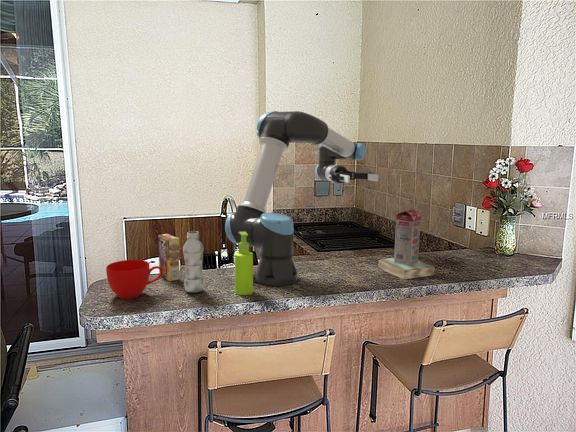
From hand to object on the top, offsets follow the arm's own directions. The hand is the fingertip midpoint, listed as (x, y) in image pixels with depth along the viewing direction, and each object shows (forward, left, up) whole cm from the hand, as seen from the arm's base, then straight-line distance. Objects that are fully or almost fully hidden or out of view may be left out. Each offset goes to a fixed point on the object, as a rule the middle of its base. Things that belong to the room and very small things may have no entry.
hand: (363, 178), depth 185 cm
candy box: (-77, +5, -34) cm, 84 cm away
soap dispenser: (-57, -19, -34) cm, 69 cm away
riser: (+8, -20, -34) cm, 40 cm away
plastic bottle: (-72, -13, -34) cm, 81 cm away
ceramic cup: (-90, -9, -34) cm, 97 cm away
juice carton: (+8, -20, -31) cm, 37 cm away
